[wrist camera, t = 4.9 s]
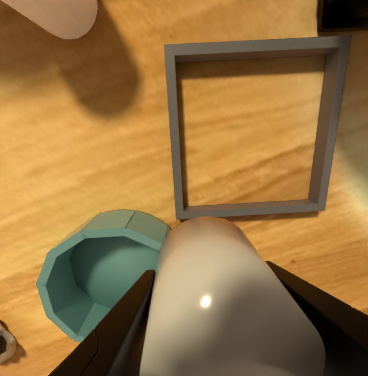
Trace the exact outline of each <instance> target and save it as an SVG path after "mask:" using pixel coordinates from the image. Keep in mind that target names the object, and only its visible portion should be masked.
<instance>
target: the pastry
mask: <svg viewBox="0 0 368 376" xmlns="http://www.w3.org/2000/svg"><path fill="white" fill-rule="evenodd" d="M16 346H17V342H16V338H15V337H14V336H13V335H12V334H11V333H10V332H9V331H8V330H7V329H5V328H4V326H3V325H2V324H1V323H0V364H1V363H2V362H4V361H5V360H7V359H9V358H11V357H12V356H13V355H14V354H15V352H16Z"/></svg>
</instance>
